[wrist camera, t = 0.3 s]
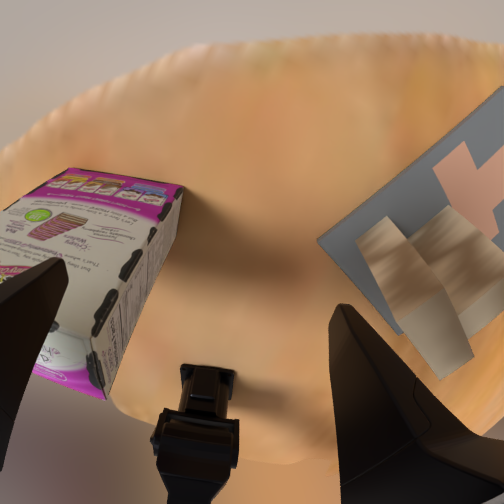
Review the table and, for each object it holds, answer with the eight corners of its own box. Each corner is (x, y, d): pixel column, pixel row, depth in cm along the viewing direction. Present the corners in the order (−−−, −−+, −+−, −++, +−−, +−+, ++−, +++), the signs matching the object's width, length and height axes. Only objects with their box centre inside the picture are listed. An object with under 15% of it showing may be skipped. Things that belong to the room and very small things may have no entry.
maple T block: (403, 304, 28) (439, 380, 19) (354, 240, 24) (396, 322, 16) (469, 253, 24) (523, 315, 16) (434, 176, 21) (509, 230, 12)
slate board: (396, 332, 30) (398, 335, 30) (316, 239, 25) (317, 243, 24) (540, 209, 22) (543, 211, 21) (501, 85, 16) (505, 86, 16)
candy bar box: (70, 216, 24) (-44, 334, 10) (69, 165, 22) (-73, 265, 8) (179, 239, 25) (107, 408, 11) (187, 184, 23) (87, 339, 9)
